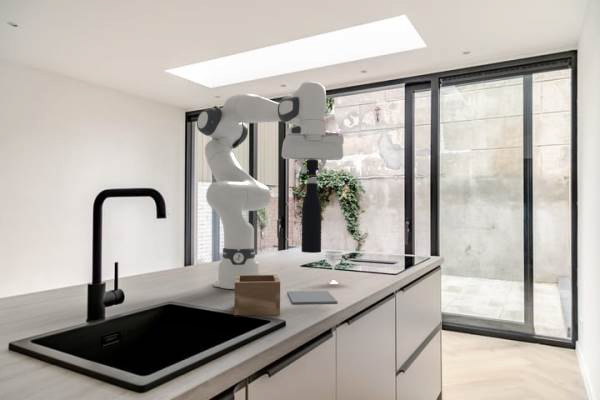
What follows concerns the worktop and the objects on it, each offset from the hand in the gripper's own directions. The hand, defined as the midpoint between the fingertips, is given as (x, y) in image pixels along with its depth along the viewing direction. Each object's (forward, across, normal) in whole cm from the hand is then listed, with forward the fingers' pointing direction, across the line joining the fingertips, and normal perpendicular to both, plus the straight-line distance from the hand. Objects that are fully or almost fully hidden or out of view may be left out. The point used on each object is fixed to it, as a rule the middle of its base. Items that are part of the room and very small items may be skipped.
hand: (312, 173), depth 135 cm
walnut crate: (+41, +18, +14) cm, 47 cm away
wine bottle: (+26, 0, 0) cm, 26 cm away
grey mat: (+41, 0, 0) cm, 41 cm away
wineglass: (+41, -13, -27) cm, 51 cm away
